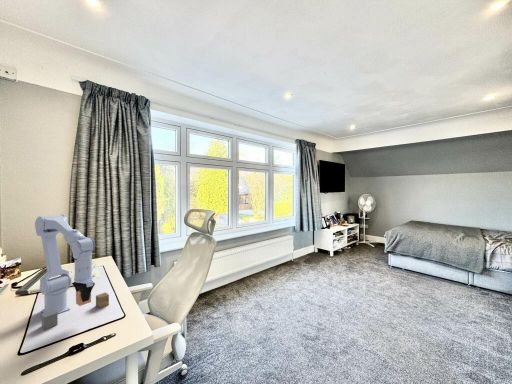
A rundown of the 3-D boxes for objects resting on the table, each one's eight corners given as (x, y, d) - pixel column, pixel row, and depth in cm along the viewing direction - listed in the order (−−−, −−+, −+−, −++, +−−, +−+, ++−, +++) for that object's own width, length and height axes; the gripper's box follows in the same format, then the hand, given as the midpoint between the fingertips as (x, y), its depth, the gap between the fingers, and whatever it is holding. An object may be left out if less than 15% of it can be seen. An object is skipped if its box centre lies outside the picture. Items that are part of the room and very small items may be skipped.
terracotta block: (75, 303, 92) (75, 291, 92) (87, 299, 96) (87, 287, 96) (79, 306, 90) (79, 294, 90) (91, 302, 93) (91, 290, 93)
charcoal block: (41, 326, 90) (41, 314, 89) (54, 321, 93) (54, 309, 93) (44, 329, 87) (44, 317, 87) (57, 324, 91) (57, 312, 91)
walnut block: (95, 305, 105) (95, 295, 105) (105, 302, 109) (105, 292, 108) (99, 308, 103) (99, 297, 103) (108, 304, 106) (108, 294, 106)
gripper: (101, 268, 92) (101, 300, 92) (87, 261, 100) (88, 291, 100) (81, 273, 86) (81, 307, 86) (68, 265, 94) (68, 297, 94)
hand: (83, 299), depth 93 cm, fingers closed on terracotta block, 4 cm apart
